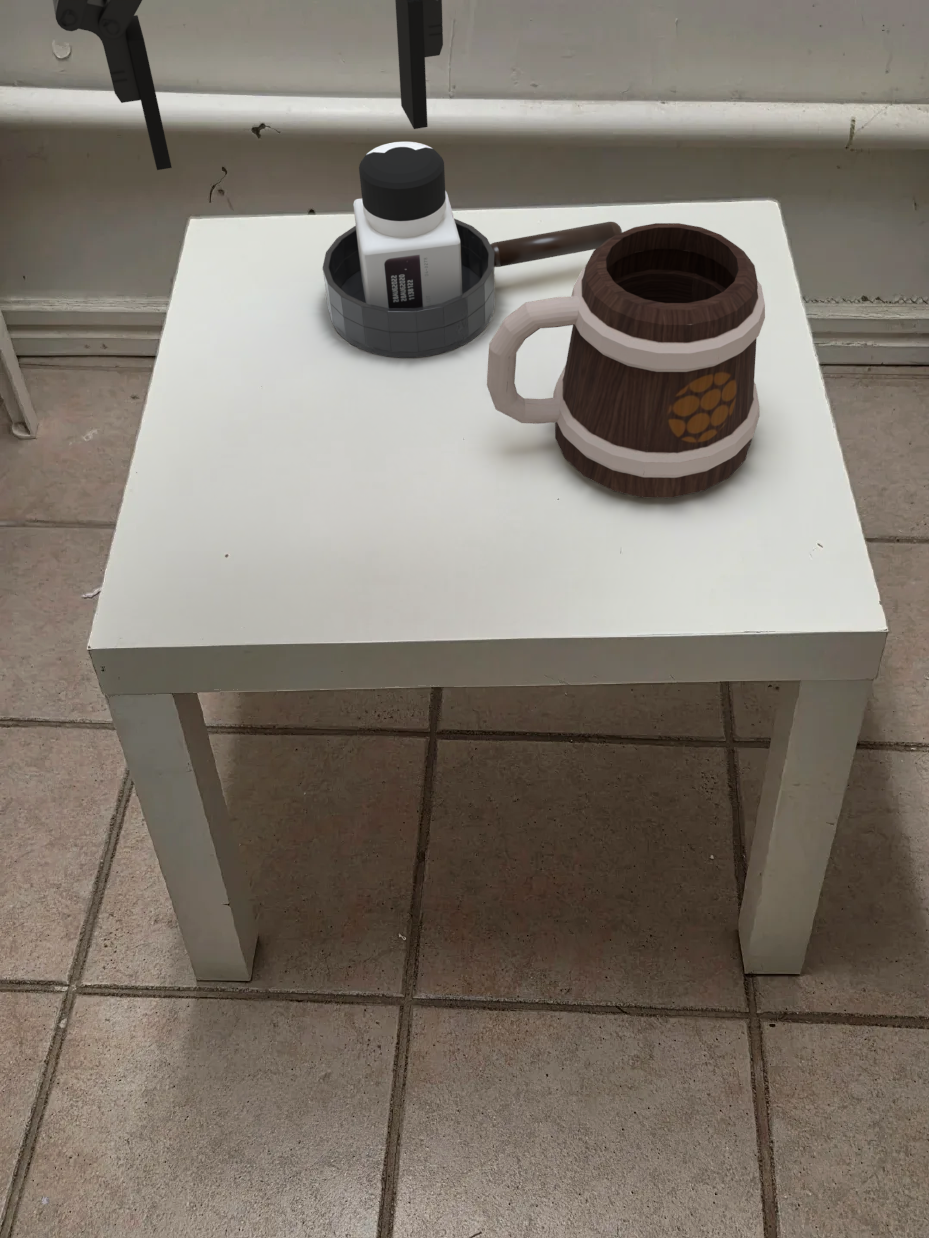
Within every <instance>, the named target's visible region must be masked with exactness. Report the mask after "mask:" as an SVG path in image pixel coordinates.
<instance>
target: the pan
mask: <svg viewBox="0 0 929 1238" xmlns="http://www.w3.org/2000/svg"><path fill="white" fill-rule="evenodd" d="M454 220H455V224H456V227H457V231H458V235H459V238H460V246H461V273H462V295H460V296H458V297H455V298H453V299H450V300H448V301H446V302H443V303H441V304H435V305H430V306H425V307H419V308H386V307H381V306H376V305H371V304H367V303H366V300H365V295H364V289H363V283H362V277H361V268H360V259H359V250H358V241H357V232H356V225H355V226H353V227H351V228H350V229H348V230H347V231H345V232H344V233H342V234H341V235H339V236H338V237H336V238H335V240H334V241H333V242H332V243H331V245H330V246H329V248H328V249H327V250H326V252H325V254H324V259H323V264H322V275H323V282H324V288H325V296H326V303H327V309H328V312H329V317H330V321H331V324H332V325H333V328H334V329H335V331H336V332H337V333H338V334H339V336H341V338H343V339H344V340H345V341H346V342H348V343H349V344H351V345H352V346H354V347H356V348H358V349H360V350H363V351H365V352H367V353H371V354H374V355H379V356H384V357H389V358H400V359H402V358H403V359H404V358H405V359H406V358H407V359H410V358H424V357H429V356H436V355H440V354H443V353H444V354H445V353H447V352H450V351H453V350H455V349H458V348H460V347H462V346H464V345H466V344H468V343H469V342H471V341H472V340H473V339H475V338H476V337H478V336H479V335H480V334H481V333H482V332H483V331H484V330H485V329H486V328H487V326H488V325H490V322H491V320H492V318H493V316H494V312H495V305H496V273H495V272H496V267H495V253H494V251H493V249H492V247H491V245H490V244H491V243H490V241H489V239H488V238H487V237H486V236H485V235H484V234H483V233H481V232H480V231H479V230H478V229H477V228H476V227H475V226H473V225H470V224H468V223H466V222H463V221H461V220H459V219H456V218H454Z"/></svg>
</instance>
